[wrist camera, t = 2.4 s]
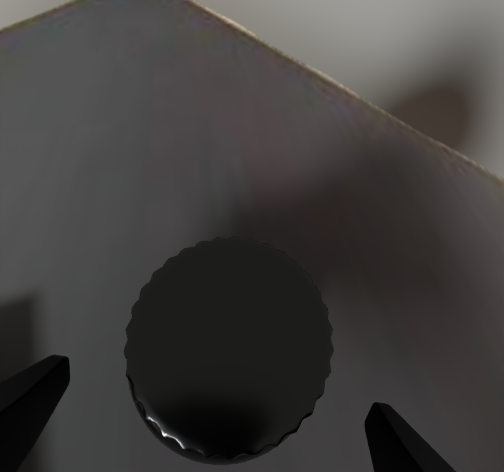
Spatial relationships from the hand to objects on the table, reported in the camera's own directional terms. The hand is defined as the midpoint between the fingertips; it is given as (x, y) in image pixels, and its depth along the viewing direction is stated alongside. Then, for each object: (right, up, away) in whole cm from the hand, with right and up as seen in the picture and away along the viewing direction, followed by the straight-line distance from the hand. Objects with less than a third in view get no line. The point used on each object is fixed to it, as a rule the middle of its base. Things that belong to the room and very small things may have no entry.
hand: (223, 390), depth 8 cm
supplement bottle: (-1, -3, +9) cm, 10 cm away
